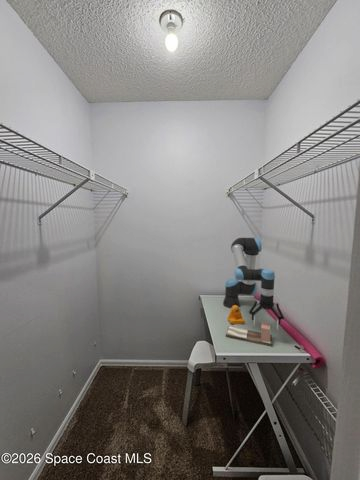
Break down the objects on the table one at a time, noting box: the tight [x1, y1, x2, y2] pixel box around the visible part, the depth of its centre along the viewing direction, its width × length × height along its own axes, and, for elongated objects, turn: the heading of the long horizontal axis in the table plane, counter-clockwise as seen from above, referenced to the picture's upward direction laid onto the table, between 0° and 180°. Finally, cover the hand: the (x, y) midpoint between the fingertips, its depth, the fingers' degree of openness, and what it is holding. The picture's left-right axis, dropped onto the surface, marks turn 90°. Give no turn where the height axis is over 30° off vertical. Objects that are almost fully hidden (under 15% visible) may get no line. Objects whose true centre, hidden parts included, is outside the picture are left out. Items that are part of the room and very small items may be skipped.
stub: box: [260, 321, 271, 342], centre depth 130 cm, size 9×5×8 cm, turn 158°
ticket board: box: [225, 326, 274, 347], centre depth 134 cm, size 12×28×2 cm, turn 68°
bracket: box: [227, 305, 246, 326], centre depth 154 cm, size 11×7×12 cm, turn 94°
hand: (265, 326), depth 130 cm, fingers open, 13 cm apart
